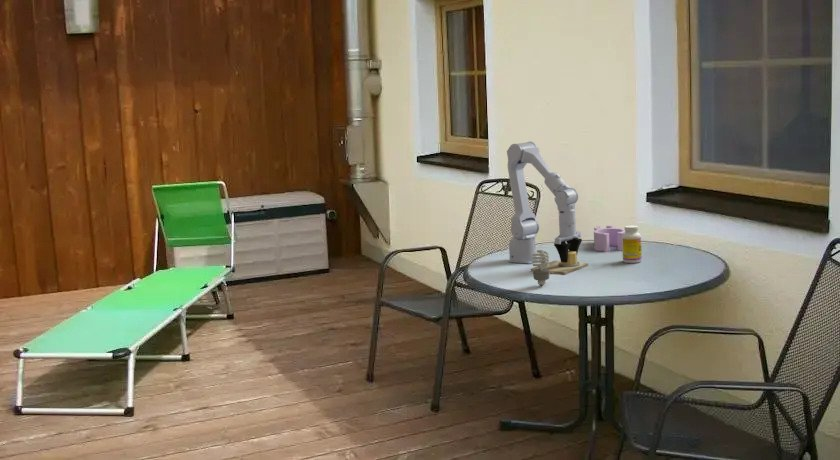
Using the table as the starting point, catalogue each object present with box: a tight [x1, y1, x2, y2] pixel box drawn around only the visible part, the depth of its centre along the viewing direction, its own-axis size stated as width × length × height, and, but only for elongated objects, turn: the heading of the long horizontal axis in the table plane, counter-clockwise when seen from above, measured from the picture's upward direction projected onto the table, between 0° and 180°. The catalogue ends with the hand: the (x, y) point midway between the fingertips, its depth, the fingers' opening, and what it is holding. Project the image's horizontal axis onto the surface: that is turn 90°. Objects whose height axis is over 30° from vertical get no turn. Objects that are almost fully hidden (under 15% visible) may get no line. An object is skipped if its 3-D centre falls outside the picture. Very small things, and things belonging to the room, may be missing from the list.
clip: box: [593, 225, 625, 253], centre depth 376 cm, size 20×12×7 cm, turn 2°
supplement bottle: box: [622, 224, 643, 264], centre depth 345 cm, size 7×7×13 cm
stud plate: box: [530, 260, 589, 275], centre depth 342 cm, size 14×16×3 cm
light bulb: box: [532, 249, 550, 287], centre depth 316 cm, size 6×6×12 cm
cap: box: [561, 250, 578, 265], centre depth 343 cm, size 5×5×4 cm
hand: (568, 260), depth 343 cm, fingers closed on cap, 6 cm apart
